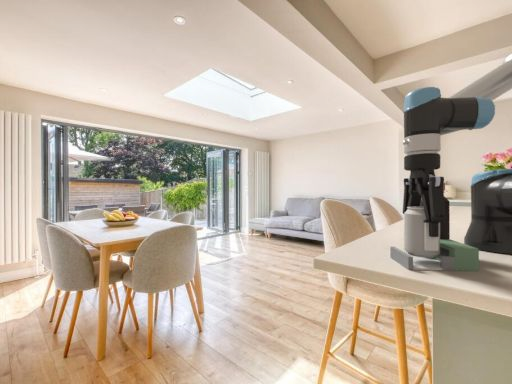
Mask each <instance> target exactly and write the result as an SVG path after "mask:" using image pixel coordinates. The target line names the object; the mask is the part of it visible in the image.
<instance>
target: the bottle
mask: <svg viewBox="0 0 512 384" xmlns="http://www.w3.org/2000/svg"><path fill="white" fill-rule="evenodd" d="M443 191H444V192H446V183H445V182H444V184H443ZM444 203H445V214H446V220H445V221H441V222H440V239H450V238H451V236H450V235H451V233H450V229H451V228H450V227H451V226H450V225H451V224H450V216H451V215H450V200H449V199H448V198H447V197H446V196H444ZM420 206H423V202H422V198H421V203H420ZM450 240H451V239H450Z"/></svg>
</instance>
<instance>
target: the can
mask: <svg viewBox="0 0 512 384" xmlns="http://www.w3.org/2000/svg"><path fill="white" fill-rule="evenodd" d="M407 208H408V210H407V211H406V212H405V213H404V214H403V221H404V222H403V223H404V224H403V225H404V226H403V228H404V229H403V237H404V238H403V241H404V242H403V245H404V247H403V250H404V251H405V253H407V254H409V255H410V256H416V257H422V258H434V257H436V256H437V255H439V254H440V223H439V230H438V231H439V232H438V233H439V235H438V251H426V250H424V222H423V221H424V220H426V215H425V211H424V206H410V207H407Z"/></svg>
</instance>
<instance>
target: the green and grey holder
mask: <svg viewBox="0 0 512 384" xmlns="http://www.w3.org/2000/svg"><path fill="white" fill-rule="evenodd" d="M389 248H390V249H389V250H390V259H392V260H393V261H395V262H396V263H398V264H400V265H401V266H402V267H403V268H405V269H406V270H409V271H464V272H465V271H471V272H472V271H473V272H474V271H476V272H477V271H478V272H479V271H480V270H479V269H480V267H479V266H480V262H479V261H480V260H479V259H480V258H479V255H480V250H479V249H478V248H475V247H472V246H469V245H466V244H464V242H463V243H462V242H458V241H456V240H453V239H440V254H439V255H437V256H436V257H434V258H422V257H416V256H412V255H410V254H408V253H407V252H406V251H405V252H404V251H403V250H401V249H400V248H398V247H396V246H390V247H389Z"/></svg>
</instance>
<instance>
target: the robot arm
mask: <svg viewBox="0 0 512 384" xmlns="http://www.w3.org/2000/svg"><path fill="white" fill-rule="evenodd" d="M510 90H512V53H511V54H510V55H508V56H507V57H506V58H505V59H504V60H503V62H502V63H501V65H500V64H499V66H497V67H496V68H494V69H492V70H491V71H489V72H488V73H486V74H484V75H483V76H481V77H480V78H478V79H477V80H475V81H473V82H471V83H470V84H468V85H467V86H465V87H464V88H462V89H460V90H459V91H457V92H456V93H454V94H452V95H450V96H449V97H442V94H441V90H440V88H439V87H435V86H425V87H420V88H417V89H414V90H411V91H409V92H408V93H406V95H405V97H404V101H403V102H404V103H403V112H402V113H403V135H404V137H403V139H404V140H403V141H402V146H403V145H404V146H403V147H404V149H403V153H404V154H405V156H404V157H403V170H404V171H409V172H410V174H409V177H408V178H403V200H402V201H403V202H402V214H403V215H404V213H405V212H406V211H407V210H408V208H407V207H410V206H420V203H421V199H422V202H423V206H424V211H425V215H426V220H424V221H423V222H424V250H426V251H438V235H439V233H438V232H439V231H438V230H439V223H440V222H441V221H445V220H446V214H445V203H444V197H445V194H444V193H445V191H443V184H444V183H445V177H444V176H436V173H435V170H439V169H440V168H441V154H440V153H439V152H440V151H441V136H443V135H447V134H452V133H455V132H460V131H464V130H469V131H473V130H478V129H484V128H485V127H487V126H488V125H489V124H491V123H492V121H493V120H494V117H495V115H496V105H495V103H494V100H496V99H497V98H499V97H500V96H502V95H504V94H506V93H507V92H509V91H510ZM470 206H471V207H470V210H471V211H470V212H471V213H470V214H471V215H470V217H471V218H470V219H471V221H470V223H469V226H468V228H467V230H466V232H465V235H464V238H463V244H466V245H469V246H472V247H475V248H478V249H479V251H484V252H490V253H498V254H509V255H510V254H511V255H512V168H502V169H495V170H493V169H492V170H487V171H481V172H478V173H475V174H473V176H472V177H471V185H470Z"/></svg>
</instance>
